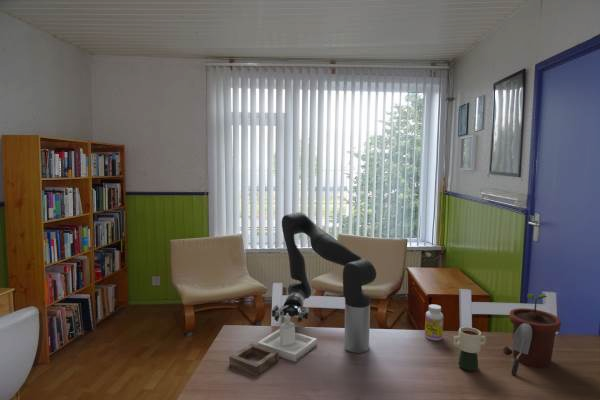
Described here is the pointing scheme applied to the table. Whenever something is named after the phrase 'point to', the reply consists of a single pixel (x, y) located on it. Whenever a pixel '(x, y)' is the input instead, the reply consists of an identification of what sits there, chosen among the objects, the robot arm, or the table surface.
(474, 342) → the character mug
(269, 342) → the tray
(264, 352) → the walnut holder
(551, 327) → the potted plant
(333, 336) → the table surface
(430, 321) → the supplement bottle
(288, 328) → the eye dropper bottle
